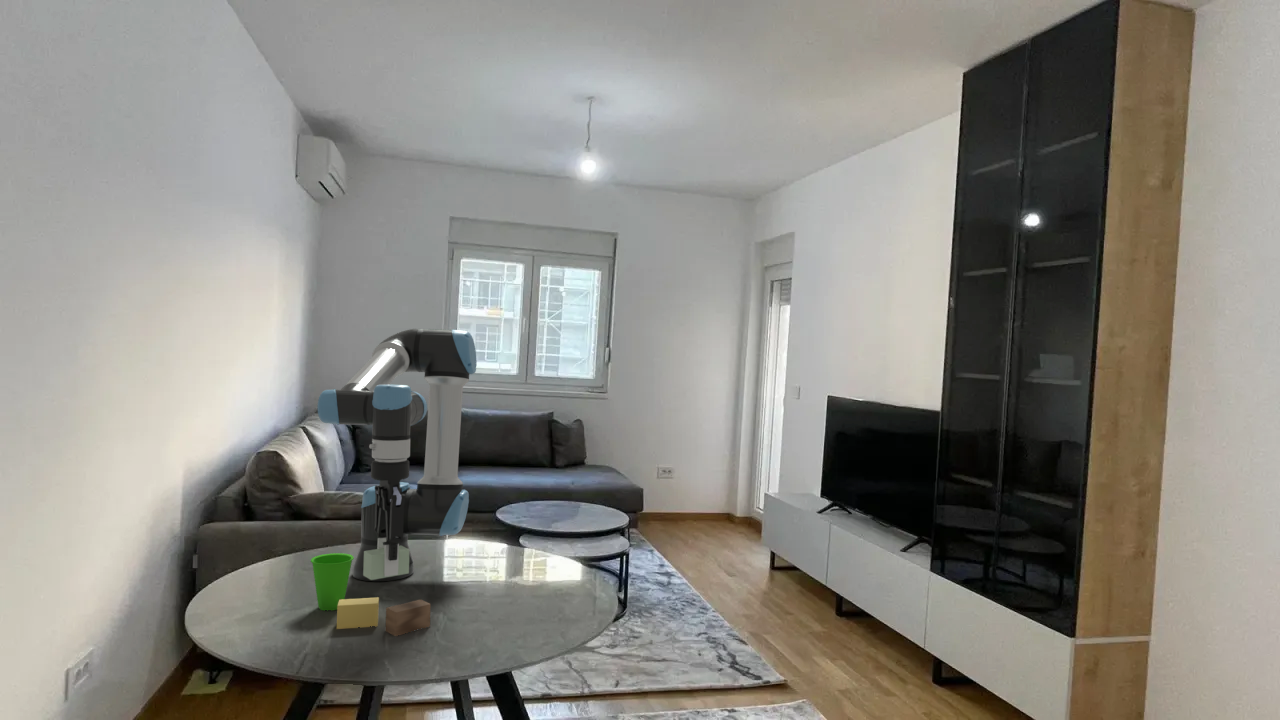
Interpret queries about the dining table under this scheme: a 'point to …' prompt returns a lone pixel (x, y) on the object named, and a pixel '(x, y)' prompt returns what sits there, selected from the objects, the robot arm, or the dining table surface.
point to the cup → (331, 578)
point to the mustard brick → (357, 613)
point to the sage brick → (376, 563)
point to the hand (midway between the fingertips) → (387, 571)
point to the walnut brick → (407, 617)
